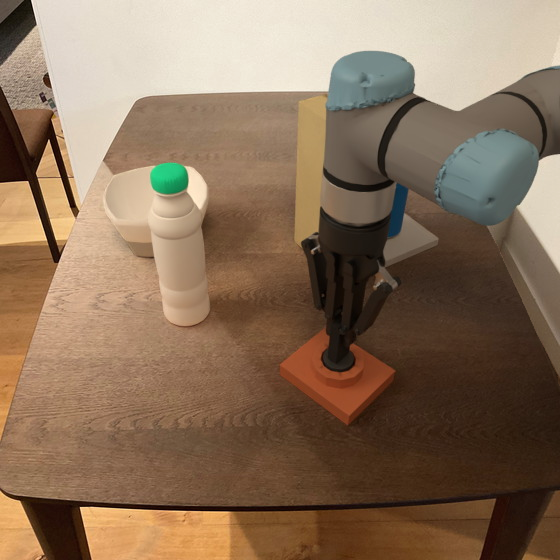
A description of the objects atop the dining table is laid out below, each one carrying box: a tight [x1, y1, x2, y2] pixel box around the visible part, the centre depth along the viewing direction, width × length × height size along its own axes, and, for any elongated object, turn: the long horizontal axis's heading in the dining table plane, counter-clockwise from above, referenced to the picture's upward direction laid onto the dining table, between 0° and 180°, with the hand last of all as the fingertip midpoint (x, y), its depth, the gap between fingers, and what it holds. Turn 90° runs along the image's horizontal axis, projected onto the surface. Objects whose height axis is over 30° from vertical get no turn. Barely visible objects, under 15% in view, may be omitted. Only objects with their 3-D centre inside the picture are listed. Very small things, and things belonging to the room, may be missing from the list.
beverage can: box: [387, 183, 410, 238], centre depth 98 cm, size 6×6×12 cm
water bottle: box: [148, 162, 211, 327], centre depth 80 cm, size 7×7×25 cm
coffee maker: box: [293, 93, 440, 269], centre depth 93 cm, size 14×21×26 cm, turn 122°
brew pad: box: [279, 326, 396, 426], centre depth 78 cm, size 12×10×4 cm
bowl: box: [102, 165, 210, 258], centre depth 100 cm, size 18×18×9 cm
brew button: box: [323, 349, 354, 373], centre depth 77 cm, size 4×4×2 cm
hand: (338, 355), depth 76 cm, fingers closed
